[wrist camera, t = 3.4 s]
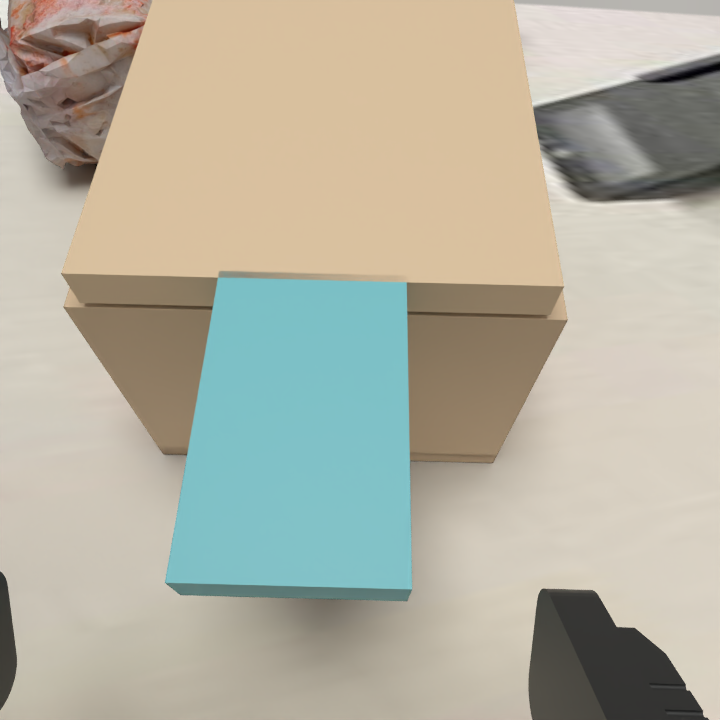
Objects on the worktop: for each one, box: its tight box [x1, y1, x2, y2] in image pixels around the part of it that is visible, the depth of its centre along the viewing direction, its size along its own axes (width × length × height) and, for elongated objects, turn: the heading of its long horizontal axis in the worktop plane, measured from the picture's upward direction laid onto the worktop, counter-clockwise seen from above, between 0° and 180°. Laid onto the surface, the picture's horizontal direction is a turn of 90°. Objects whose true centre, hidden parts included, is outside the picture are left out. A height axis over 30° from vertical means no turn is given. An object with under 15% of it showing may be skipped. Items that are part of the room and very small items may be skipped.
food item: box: [0, 0, 153, 170], centre depth 32 cm, size 14×8×10 cm, turn 18°
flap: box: [61, 0, 564, 601], centre depth 17 cm, size 12×21×1 cm, turn 179°
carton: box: [64, 288, 568, 463], centre depth 24 cm, size 13×14×10 cm
